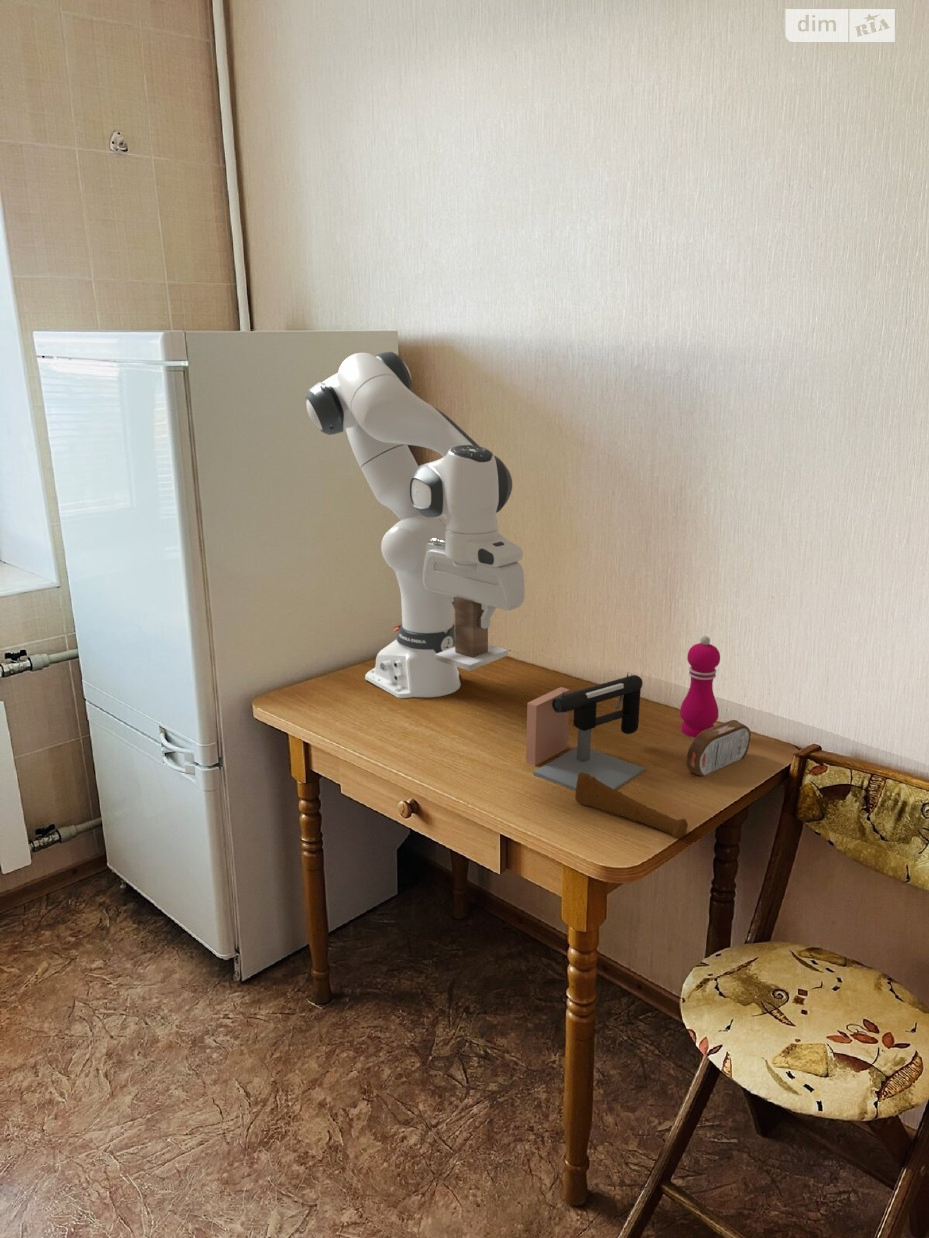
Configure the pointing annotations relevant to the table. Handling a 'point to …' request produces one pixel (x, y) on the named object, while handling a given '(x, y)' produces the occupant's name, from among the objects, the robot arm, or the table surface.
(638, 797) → the table surface
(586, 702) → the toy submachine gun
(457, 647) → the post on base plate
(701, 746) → the tin
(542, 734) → the tile
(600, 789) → the primitive tool
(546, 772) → the mat
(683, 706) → the pepper mill
